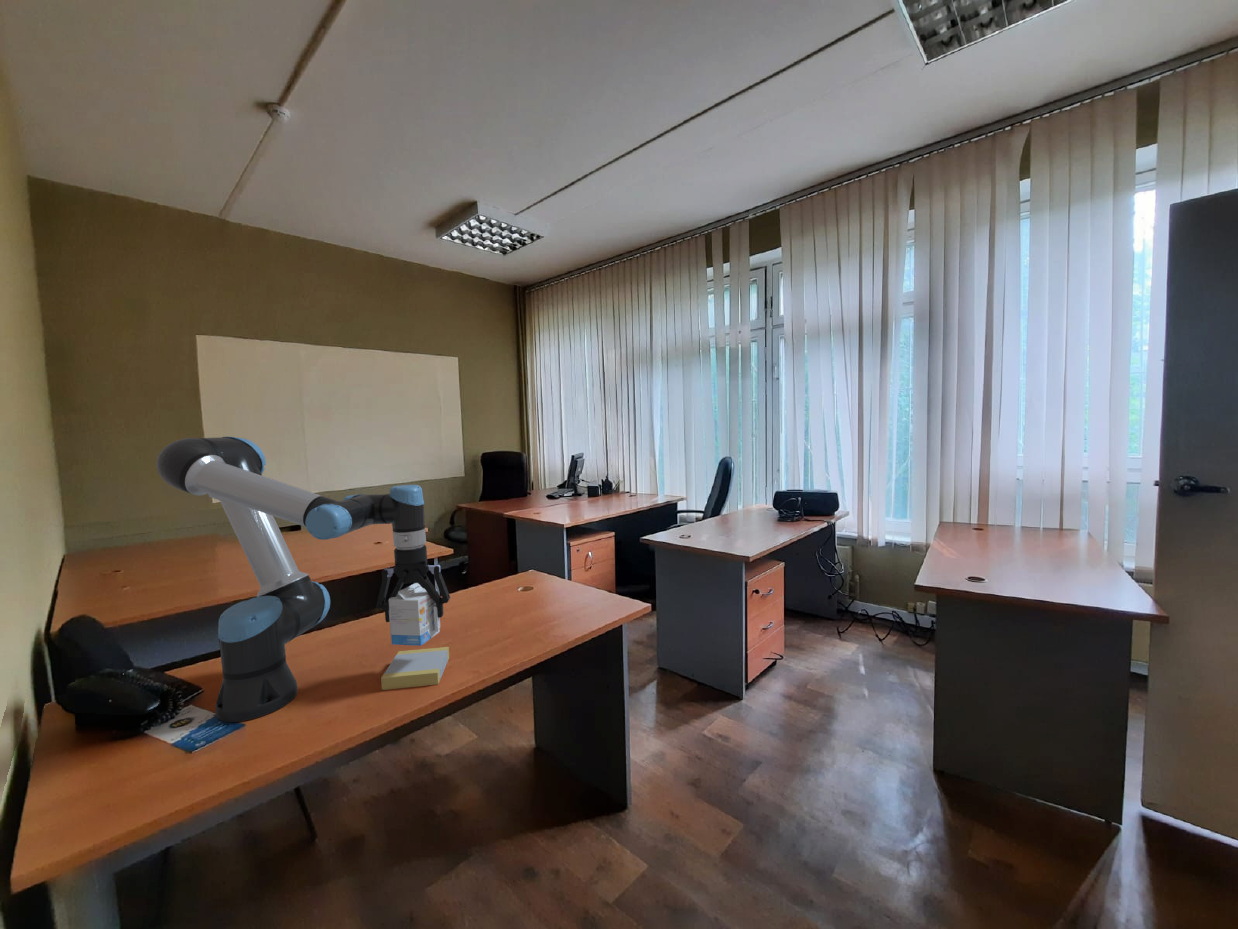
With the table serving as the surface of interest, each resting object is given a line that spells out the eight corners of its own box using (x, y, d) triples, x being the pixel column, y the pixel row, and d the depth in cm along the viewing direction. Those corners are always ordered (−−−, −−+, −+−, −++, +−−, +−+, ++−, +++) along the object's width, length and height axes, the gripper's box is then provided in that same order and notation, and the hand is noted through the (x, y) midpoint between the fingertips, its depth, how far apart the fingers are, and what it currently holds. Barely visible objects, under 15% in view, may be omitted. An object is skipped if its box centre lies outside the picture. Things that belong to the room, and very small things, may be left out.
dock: (381, 690, 114) (381, 678, 114) (399, 662, 128) (398, 651, 128) (438, 684, 116) (437, 672, 116) (449, 657, 130) (448, 646, 130)
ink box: (420, 646, 116) (417, 593, 115) (390, 644, 118) (387, 592, 117) (440, 631, 125) (437, 582, 124) (412, 630, 127) (408, 581, 125)
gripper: (356, 553, 114) (363, 642, 116) (453, 546, 118) (458, 633, 119) (368, 545, 122) (374, 629, 123) (459, 539, 125) (463, 621, 127)
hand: (415, 631), depth 121 cm, fingers closed on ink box, 10 cm apart
